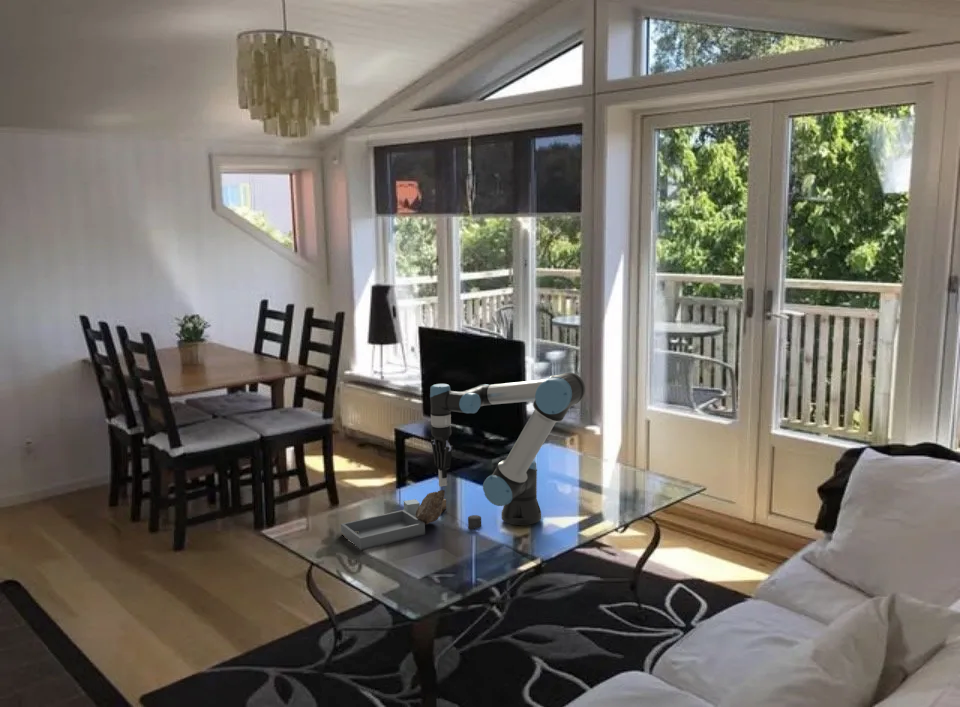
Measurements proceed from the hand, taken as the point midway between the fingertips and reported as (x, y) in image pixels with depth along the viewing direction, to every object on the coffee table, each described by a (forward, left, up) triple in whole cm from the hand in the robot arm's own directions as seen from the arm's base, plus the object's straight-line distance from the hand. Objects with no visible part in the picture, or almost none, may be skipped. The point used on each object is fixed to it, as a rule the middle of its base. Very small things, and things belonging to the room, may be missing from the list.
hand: (443, 485), depth 305 cm
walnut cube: (+13, -5, -16) cm, 21 cm away
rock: (-2, +2, -11) cm, 11 cm away
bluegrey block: (+14, +6, -15) cm, 22 cm away
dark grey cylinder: (-10, -8, -15) cm, 20 cm away
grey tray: (+3, +24, -15) cm, 29 cm away
